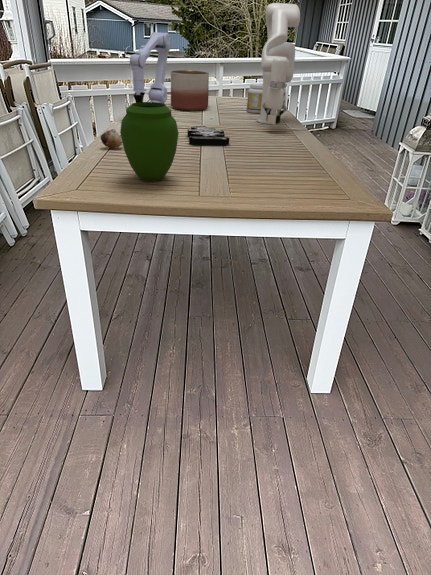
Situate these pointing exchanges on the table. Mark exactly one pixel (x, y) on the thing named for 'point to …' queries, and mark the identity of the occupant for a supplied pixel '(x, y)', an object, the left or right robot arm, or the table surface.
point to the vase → (149, 139)
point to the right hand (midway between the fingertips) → (272, 122)
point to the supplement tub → (254, 98)
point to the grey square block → (271, 119)
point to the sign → (207, 136)
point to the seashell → (111, 139)
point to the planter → (189, 90)
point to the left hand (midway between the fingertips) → (139, 107)
